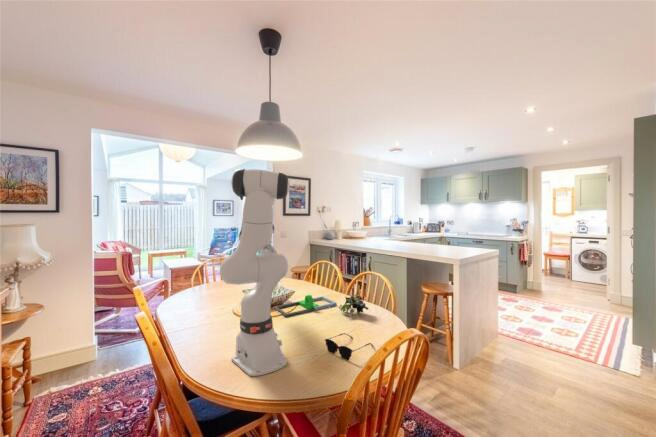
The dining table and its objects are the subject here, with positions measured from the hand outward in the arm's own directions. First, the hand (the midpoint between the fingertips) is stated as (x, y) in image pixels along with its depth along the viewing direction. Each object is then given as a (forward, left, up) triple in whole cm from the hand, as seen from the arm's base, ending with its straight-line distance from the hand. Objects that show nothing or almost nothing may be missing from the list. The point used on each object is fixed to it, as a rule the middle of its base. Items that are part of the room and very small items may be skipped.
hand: (276, 264), depth 153 cm
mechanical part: (-3, -19, -27) cm, 33 cm away
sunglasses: (-56, -9, -27) cm, 63 cm away
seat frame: (-3, -9, -26) cm, 28 cm away
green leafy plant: (-28, -32, -27) cm, 50 cm away
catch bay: (-3, -25, -26) cm, 37 cm away
